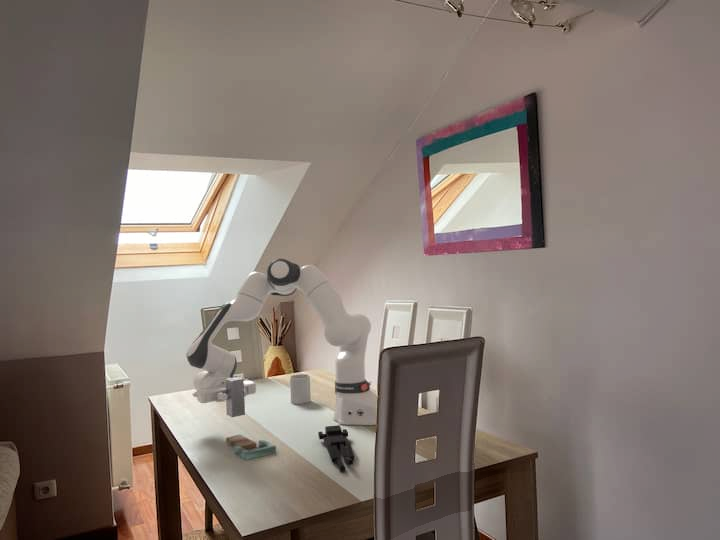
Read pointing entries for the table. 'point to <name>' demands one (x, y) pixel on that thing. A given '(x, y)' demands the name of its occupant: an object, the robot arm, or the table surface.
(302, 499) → the table surface
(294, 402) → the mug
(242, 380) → the block
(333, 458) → the toy
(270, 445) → the tray
